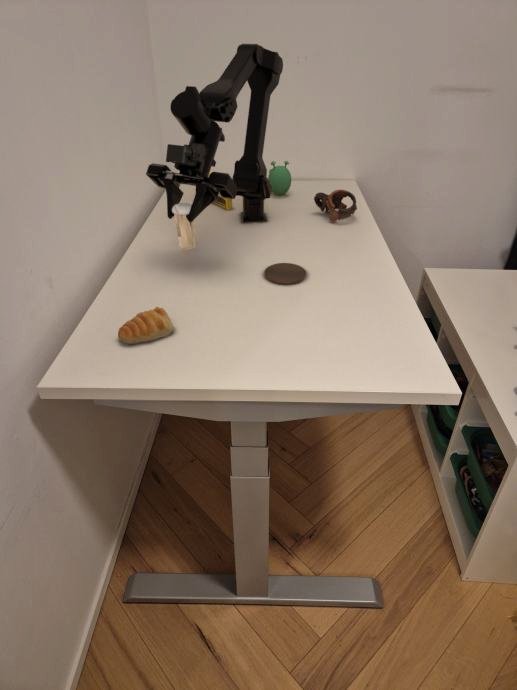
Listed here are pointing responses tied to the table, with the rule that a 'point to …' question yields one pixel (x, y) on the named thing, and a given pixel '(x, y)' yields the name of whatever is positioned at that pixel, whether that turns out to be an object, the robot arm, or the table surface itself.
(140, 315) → the pastry
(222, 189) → the robot arm
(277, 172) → the alien toy
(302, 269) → the coaster
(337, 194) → the brown coiled strap
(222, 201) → the candy box
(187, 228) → the milkshake
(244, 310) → the table surface
